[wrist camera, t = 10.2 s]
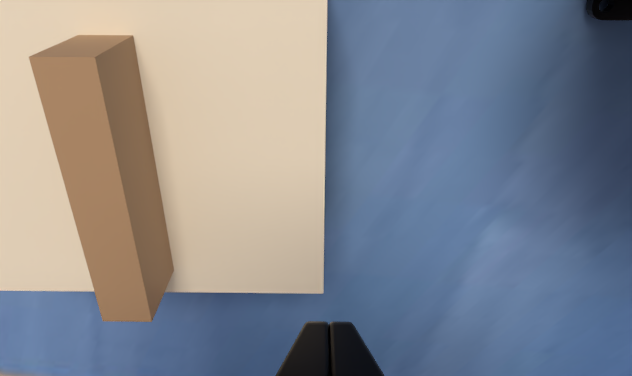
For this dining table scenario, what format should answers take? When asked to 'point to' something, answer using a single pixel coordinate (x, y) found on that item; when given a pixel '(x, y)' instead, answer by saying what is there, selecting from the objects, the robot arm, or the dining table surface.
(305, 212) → the lid
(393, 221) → the dining table surface
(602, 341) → the dining table surface
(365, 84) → the dining table surface
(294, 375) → the robot arm
